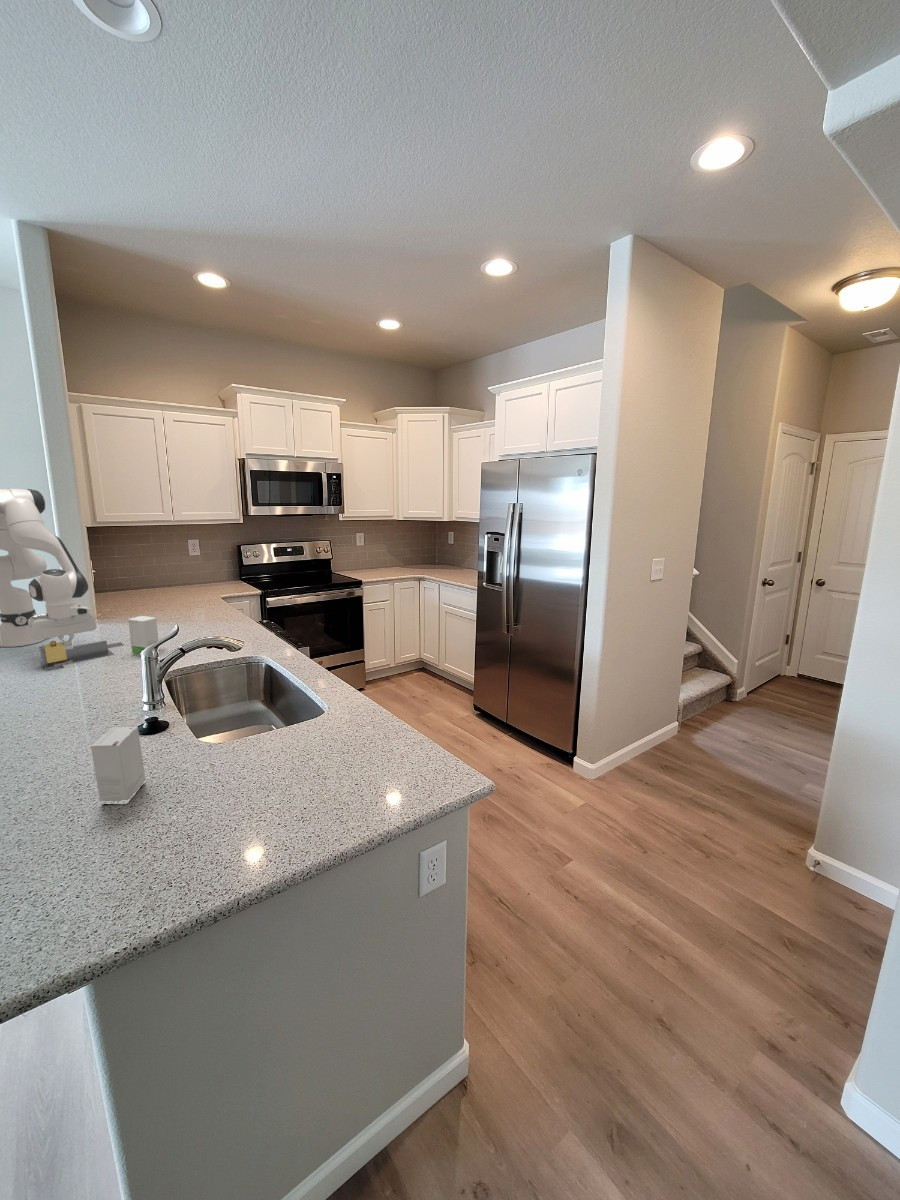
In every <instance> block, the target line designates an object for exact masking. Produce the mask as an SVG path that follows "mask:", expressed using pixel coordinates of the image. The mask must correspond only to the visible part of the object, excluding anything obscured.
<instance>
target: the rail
mask: <svg viewBox="0 0 900 1200" xmlns="http://www.w3.org/2000/svg"><path fill="white" fill-rule="evenodd" d="M107 645H108V643H107V640H101V641H95V642H91V643H85V644H80V645H74V646H73V645H72V648H70V649H65V651H66V656H67V660H62V661H57V662H52V663H47V659H46V654H45V649H44V647H43V645H40V646H38V647H39V653H40V658H41V661H40V664H41V666H42V668H43V669H44V670H45V671H46V672H48V671H52V670H53V669H54V670H58V668H59V669H62V668H65V665H66V666H67V665H70V664H75V663H80V662H85V661H89V660H95V659H99V658H103V657H109V656H114V655H115V653H114V652H112V651H111V650H110V648H108V647H107Z"/></svg>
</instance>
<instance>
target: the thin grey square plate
mask: <svg viewBox="0 0 900 1200" xmlns="http://www.w3.org/2000/svg"><path fill="white" fill-rule="evenodd" d="M122 646H125V644H124V643H122V642H116V643H115V642H114V643H109V644H107V647H108V649H113V648H117V647H122Z"/></svg>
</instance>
